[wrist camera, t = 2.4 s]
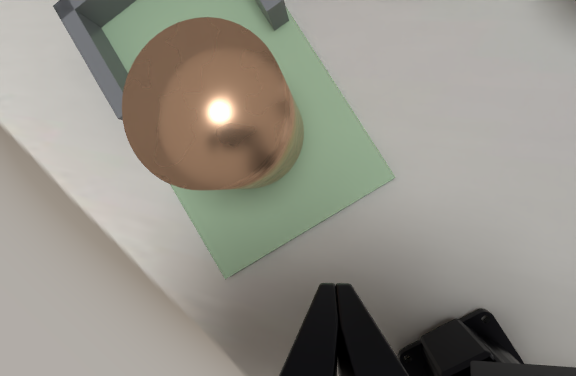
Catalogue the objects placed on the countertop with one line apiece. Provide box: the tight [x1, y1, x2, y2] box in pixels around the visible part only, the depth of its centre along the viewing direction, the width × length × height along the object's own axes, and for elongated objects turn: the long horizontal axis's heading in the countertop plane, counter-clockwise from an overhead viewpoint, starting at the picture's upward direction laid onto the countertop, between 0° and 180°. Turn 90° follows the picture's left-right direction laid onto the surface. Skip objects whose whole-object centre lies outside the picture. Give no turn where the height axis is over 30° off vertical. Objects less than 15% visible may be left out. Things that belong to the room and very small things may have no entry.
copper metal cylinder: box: [122, 17, 304, 190], centre depth 17 cm, size 8×8×8 cm
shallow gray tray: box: [53, 0, 289, 120], centre depth 21 cm, size 9×13×2 cm
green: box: [102, 0, 395, 279], centre depth 22 cm, size 22×14×1 cm, turn 32°
